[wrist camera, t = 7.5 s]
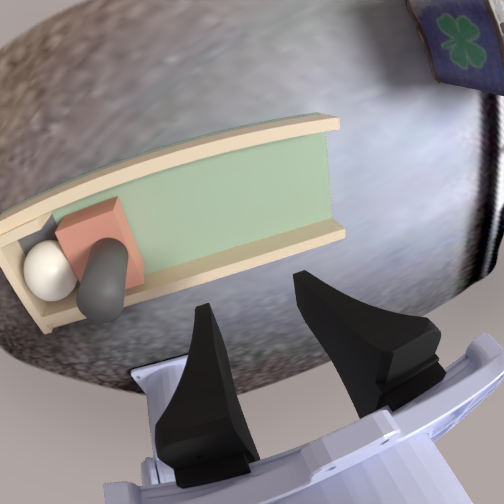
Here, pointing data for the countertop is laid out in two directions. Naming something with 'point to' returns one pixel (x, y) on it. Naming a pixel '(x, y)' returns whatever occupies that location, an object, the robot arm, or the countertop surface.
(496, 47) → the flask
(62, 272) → the ball
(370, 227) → the countertop surface
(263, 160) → the pitch
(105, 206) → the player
